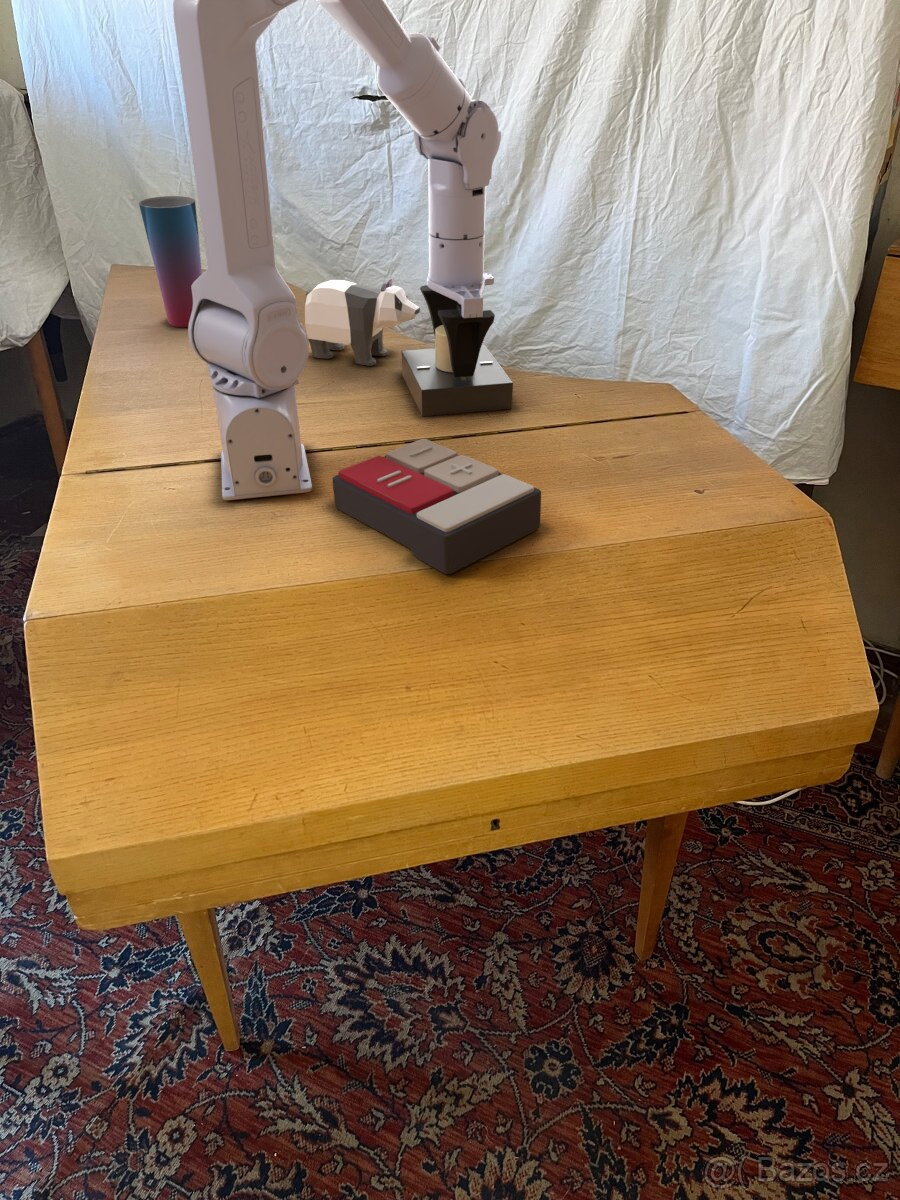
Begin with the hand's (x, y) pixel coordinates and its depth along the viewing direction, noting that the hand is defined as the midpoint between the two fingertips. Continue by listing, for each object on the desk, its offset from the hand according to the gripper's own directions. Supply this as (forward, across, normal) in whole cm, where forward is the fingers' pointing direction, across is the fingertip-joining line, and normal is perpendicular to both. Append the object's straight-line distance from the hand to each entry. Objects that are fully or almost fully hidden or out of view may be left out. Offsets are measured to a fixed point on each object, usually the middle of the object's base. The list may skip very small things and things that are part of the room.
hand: (455, 362), depth 95 cm
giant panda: (+3, +13, +9) cm, 16 cm away
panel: (+3, 0, 0) cm, 3 cm away
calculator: (+3, -27, +8) cm, 28 cm away
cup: (+3, +31, +30) cm, 43 cm away
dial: (0, 0, 0) cm, 0 cm away
